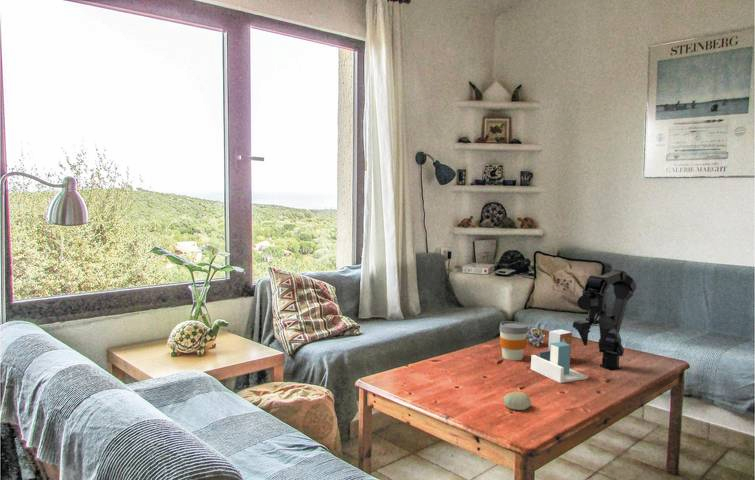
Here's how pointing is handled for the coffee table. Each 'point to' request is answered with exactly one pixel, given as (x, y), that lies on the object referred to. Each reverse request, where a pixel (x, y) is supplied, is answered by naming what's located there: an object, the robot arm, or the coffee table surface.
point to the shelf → (553, 368)
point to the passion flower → (534, 335)
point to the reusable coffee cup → (513, 339)
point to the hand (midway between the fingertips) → (594, 344)
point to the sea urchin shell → (517, 401)
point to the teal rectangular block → (561, 355)
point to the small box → (560, 337)
